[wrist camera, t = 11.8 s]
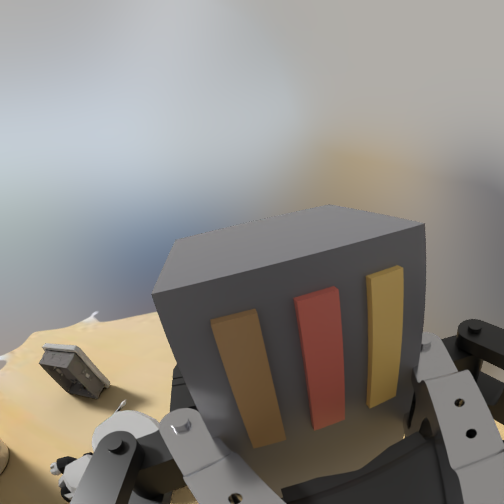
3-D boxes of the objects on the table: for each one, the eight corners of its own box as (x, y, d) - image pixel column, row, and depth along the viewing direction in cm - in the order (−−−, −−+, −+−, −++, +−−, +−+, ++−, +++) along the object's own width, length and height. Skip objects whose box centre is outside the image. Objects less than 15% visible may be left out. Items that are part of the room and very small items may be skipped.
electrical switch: (113, 385, 37) (84, 338, 34) (99, 407, 33) (65, 360, 29) (76, 379, 39) (49, 337, 36) (61, 399, 34) (31, 355, 31)
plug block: (269, 534, 7) (149, 298, 4) (249, 457, 12) (175, 239, 9) (387, 492, 8) (430, 225, 5) (345, 426, 13) (329, 204, 10)
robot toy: (109, 547, 11) (208, 463, 22) (77, 532, 10) (190, 440, 21) (61, 478, 19) (142, 417, 30) (37, 457, 18) (125, 393, 28)
